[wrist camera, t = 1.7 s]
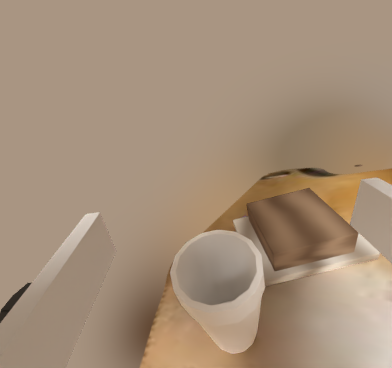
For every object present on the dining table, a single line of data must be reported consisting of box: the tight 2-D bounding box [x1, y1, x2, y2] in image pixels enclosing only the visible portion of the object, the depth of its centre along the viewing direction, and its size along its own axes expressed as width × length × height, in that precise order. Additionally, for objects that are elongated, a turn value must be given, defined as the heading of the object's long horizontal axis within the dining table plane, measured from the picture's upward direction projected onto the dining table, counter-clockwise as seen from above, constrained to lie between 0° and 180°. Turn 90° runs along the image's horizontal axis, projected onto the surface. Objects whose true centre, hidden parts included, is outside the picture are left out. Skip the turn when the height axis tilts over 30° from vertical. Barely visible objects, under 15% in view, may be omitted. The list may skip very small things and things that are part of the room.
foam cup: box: [170, 230, 265, 354], centre depth 24 cm, size 10×9×13 cm
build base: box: [233, 188, 380, 286], centre depth 35 cm, size 18×14×6 cm
